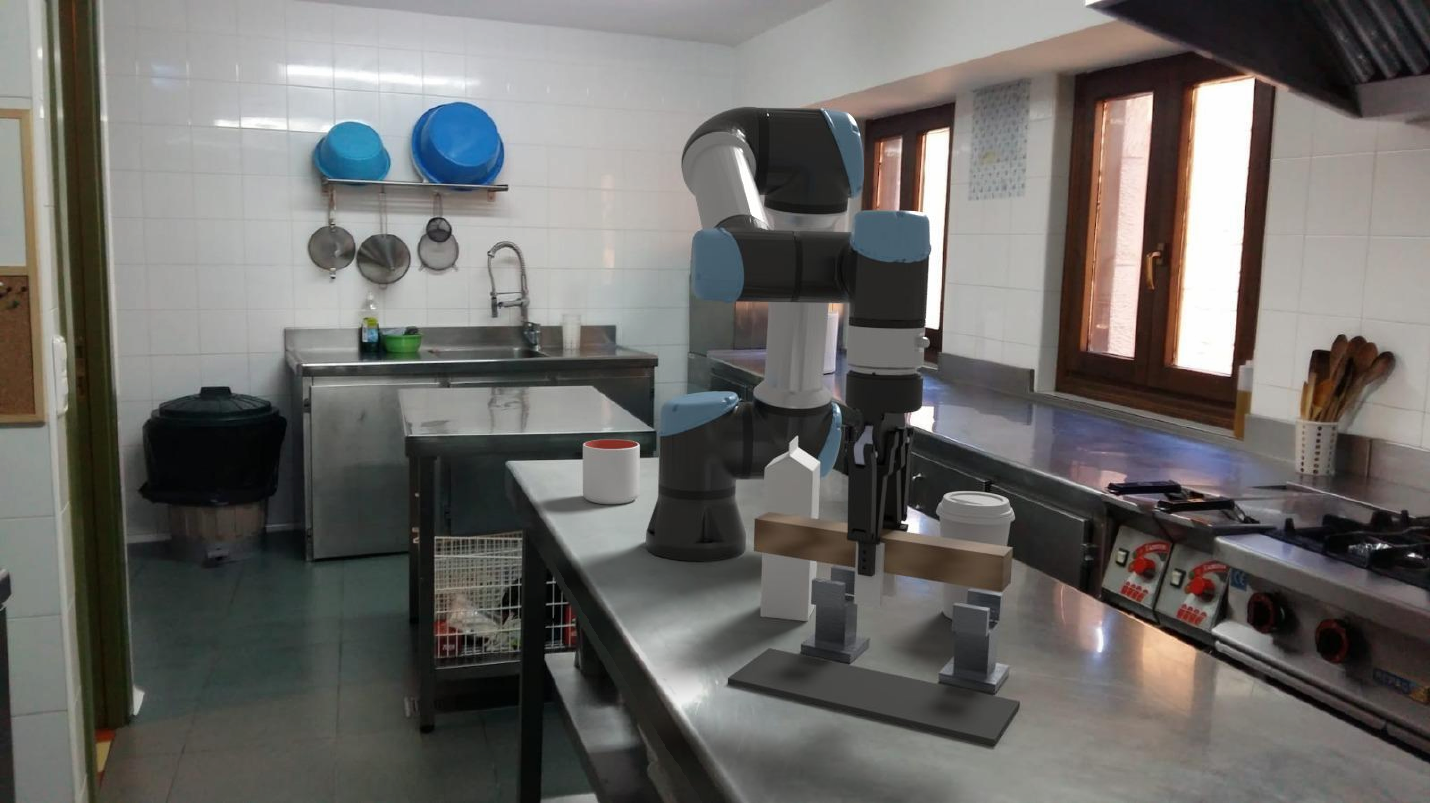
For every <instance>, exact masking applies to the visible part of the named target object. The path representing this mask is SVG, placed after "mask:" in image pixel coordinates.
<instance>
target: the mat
mask: <svg viewBox="0 0 1430 803" xmlns="http://www.w3.org/2000/svg"><path fill="white" fill-rule="evenodd" d="M727 684H729V685H732V686H737V687H742V688H746V689H749V690H753V691H754V690H755V691H759V692H764V693H767V694H771V695H775V696H780V697H784V698H788V699H793V700H796V701H797V700H798V701H801V702H806V703H808V704H809V703H810V704H815V705H818V706H822V707H828V708H831V709H834V710H840V711H845V712H847V713H853V714H857V715H861V716H865V717H868V718H869V717H870V718H875V719H879V720H882V721H887V722H890V723H891V722H892V723H896V724H900V725H904V726H909V727H913V728H917V729H921V730H924V731H925V730H926V731H929V732H935V733H938V734H942V735H947V736H951V737H954V738H955V737H956V738H960V739H962V740H963V739H964V740H969V741H971V742H972V741H973V742H977V743H980V744H985V745H989V746H993V747H994V746H995V747H996V744H997V743H998V741H999V740H1000V738H1001V736H1002V735H1003V733H1004V732H1005V730H1006V729H1007V727H1008V726H1009V724H1010V723H1011V722H1012V719H1013V718H1014V716H1015V715H1016V713H1017V712H1018V710H1019V709H1020V704H1021V702H1020V701H1019V700H1016V699H1010V698H1006V697H1002V696H997V695H992V694H987V693H984V692H983V693H982V692H978V691H974V690H973V691H972V690H969V689H964V688H961V687H959V688H958V687H953V686H951V685H950V686H949V685H945V684H940V683H937V682H930V681H925V680H922V679H917V678H912V677H907V676H902V675H898V674H893V673H888V672H883V671H879V670H874V669H869V668H864V667H860V666H855V665H851V664H845V663H841V662H837V661H832V660H827V659H822V658H817V657H815V656H808V655H803V654H798V653H794V652H789V651H785V650H780V649H776V648H770V647H768V648H767V649H765V650H764V651H763V652H761V653H760V654H759V655H757V656H756V657H755V658H753V659H752V660H750V661H749V662H748V663H747V664H745V665H743V666H742V667H741V668H740V669H738V670H737V671H735V672H734V673H733V674H731V675H730V676H729V677H727Z"/></svg>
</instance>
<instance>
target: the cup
mask: <svg viewBox="0 0 1430 803" xmlns="http://www.w3.org/2000/svg"><path fill="white" fill-rule="evenodd" d="M640 450H641V446H640V442H639V443H638V442H637V441H633V440H629V439H627V440H626V439H616V438H615V439H614V438H613V439H612V438H611V439H610V438H609V439H605V438H604V439H596V440H595V439H594V440H589V441H586V442H584V443H582V495H583V497H584V499H585V500H587V501H588V502H591V503H594V504H600V505H621V504H627V503H631V502H633V501H635V500H636V499H637V498H638V497H639V494H640V462H641V461H640V458H641V457H640V455H641V454H640V453H641V452H640Z"/></svg>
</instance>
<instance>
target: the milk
mask: <svg viewBox="0 0 1430 803" xmlns="http://www.w3.org/2000/svg"><path fill="white" fill-rule="evenodd" d="M820 480H821V478H820V462H819V461H818V460H817V459H815V458H814V457H812V456H811V455H809V454H808V453H806V452H805V451H803V450H802V449H800V448H799V447H798V436H796V437H795V438H794V439H793V440H792V441H791V442H790V443H789V451H788V452H786V453H784V454H782V455H780V456H778V457H776V458H775V459H773V460H772V461H771V462H770V463H769V464H768V465H767V466H766V467H765V474H764V480H763V482H764V483H763V484H764V486H763V511H762V512H763V513H762V515H764V514H766V513H768V512H773V513H780V514H787V515H793V516H800V517H807V518H814V519H819V513H820V512H819V511H820V510H819V509H820V508H819V507H820V484H821V481H820ZM761 554H762V555H761V582H760V584H761V585H760V586H761V589H760V594H761V595H760V617H763V618H771V619H781V620H789V621H790V620H791V621H799V622H800V621H801V622H808V621H809V619H810V618H811V615H812V613H813V611H814V609H815V608H816V605H813V604H811V590H812V579H814V578H817V572H818V571H817V567H818V566H817V565H818V562H816V561H810V560H804V559H798V558H792V557H786V556H780V555H774V554H768V553H762V552H761Z"/></svg>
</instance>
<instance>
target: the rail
mask: <svg viewBox="0 0 1430 803" xmlns="http://www.w3.org/2000/svg"><path fill="white" fill-rule="evenodd" d="M753 526H754V530H753V532H754V533H753V534H754V535H753V552H757V553H761V554H762V553H768V554H774V555H780V556H786V557H792V558H798V559H804V560H810V561H816V562H817V563H823V564H828V565H829V564H830V565H836V566H842V567H848V568H854V569H855V562H856V541H849V540H847V532H848V522H843V521H842V522H841V521H840V522H839V521H835V520H834V521H833V520H827V519H821V518H820V519H819V518H818V519H814V518H807V517H800V516H793V515H787V514H780V513H773V512H768V513H766V514H764V515H763V514H762V515H760V516H757V517H755V518H754V525H753ZM881 542H883V543H885V550H884V573H889V574H895V575H897V576H903V577H909V578H914V579H919V580H920V579H922V580H928V581H933V582H938V583H939V582H940V583H942V582H944V583H950V584H956V585H962V586H968V587H974V588H980V589H986V590H992V591H998V592H1000V593H1003V591H1004V590H1005V589H1006V588H1007V587H1008V586H1009V585H1010V584H1011V583H1012V568H1013V567H1012V565H1013V551H1014V550H1013V549H1014V547H1012V546H1008V545H1007V546H1000V545H993V544H986V543H979V542H972V541H965V540H959V539H952V538H945V537H941V536H938V535H929V534H924V533H918V532H916V533H915V532H911V531H910V532H909V531H907V532H904V531H897V530H890V529H883V528H882V536H881Z"/></svg>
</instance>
